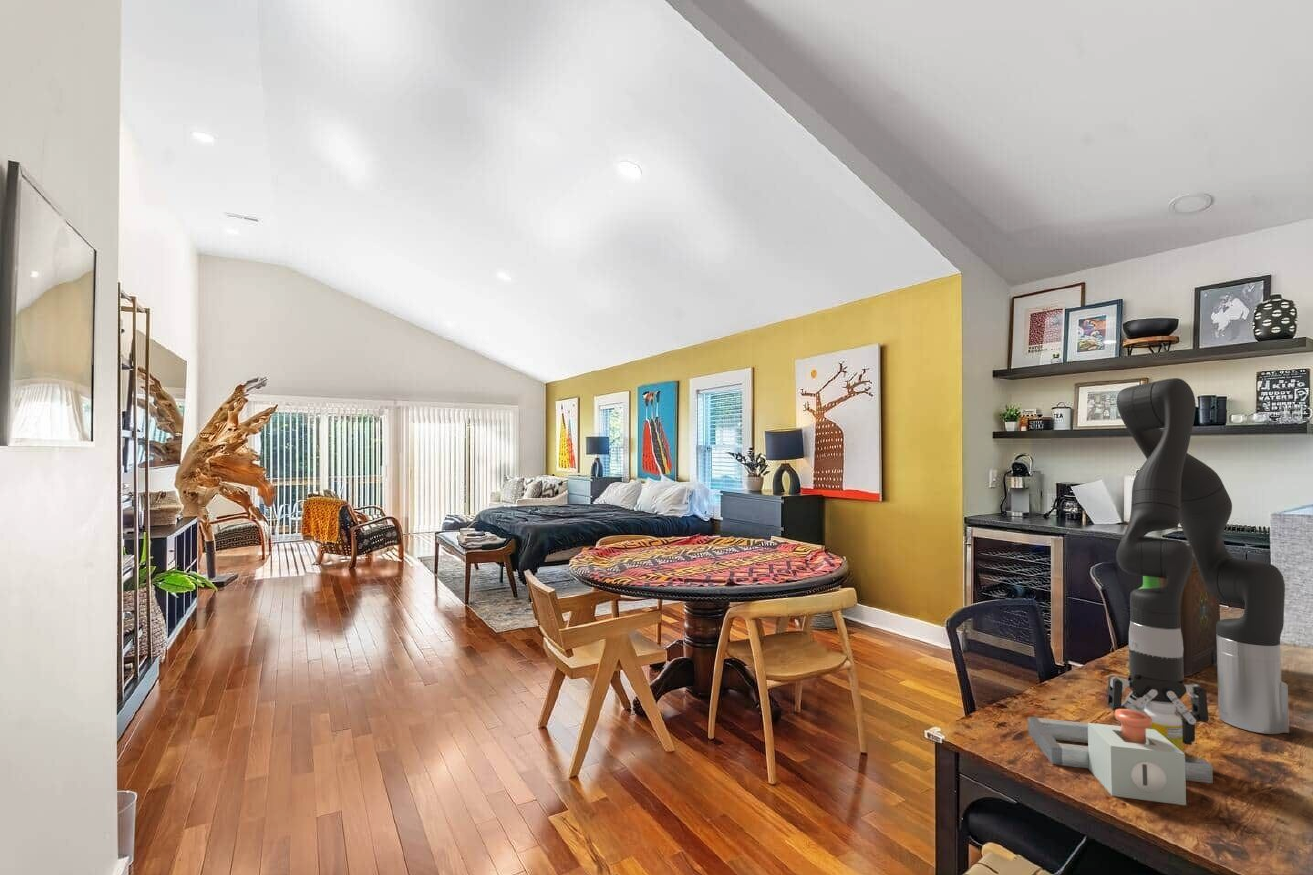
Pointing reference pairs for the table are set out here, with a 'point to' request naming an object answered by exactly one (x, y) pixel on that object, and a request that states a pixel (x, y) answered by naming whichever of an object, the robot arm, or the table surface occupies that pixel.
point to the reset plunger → (1133, 725)
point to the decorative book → (1198, 623)
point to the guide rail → (1078, 755)
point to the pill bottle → (1165, 721)
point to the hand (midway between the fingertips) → (1156, 739)
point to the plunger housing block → (1137, 765)
